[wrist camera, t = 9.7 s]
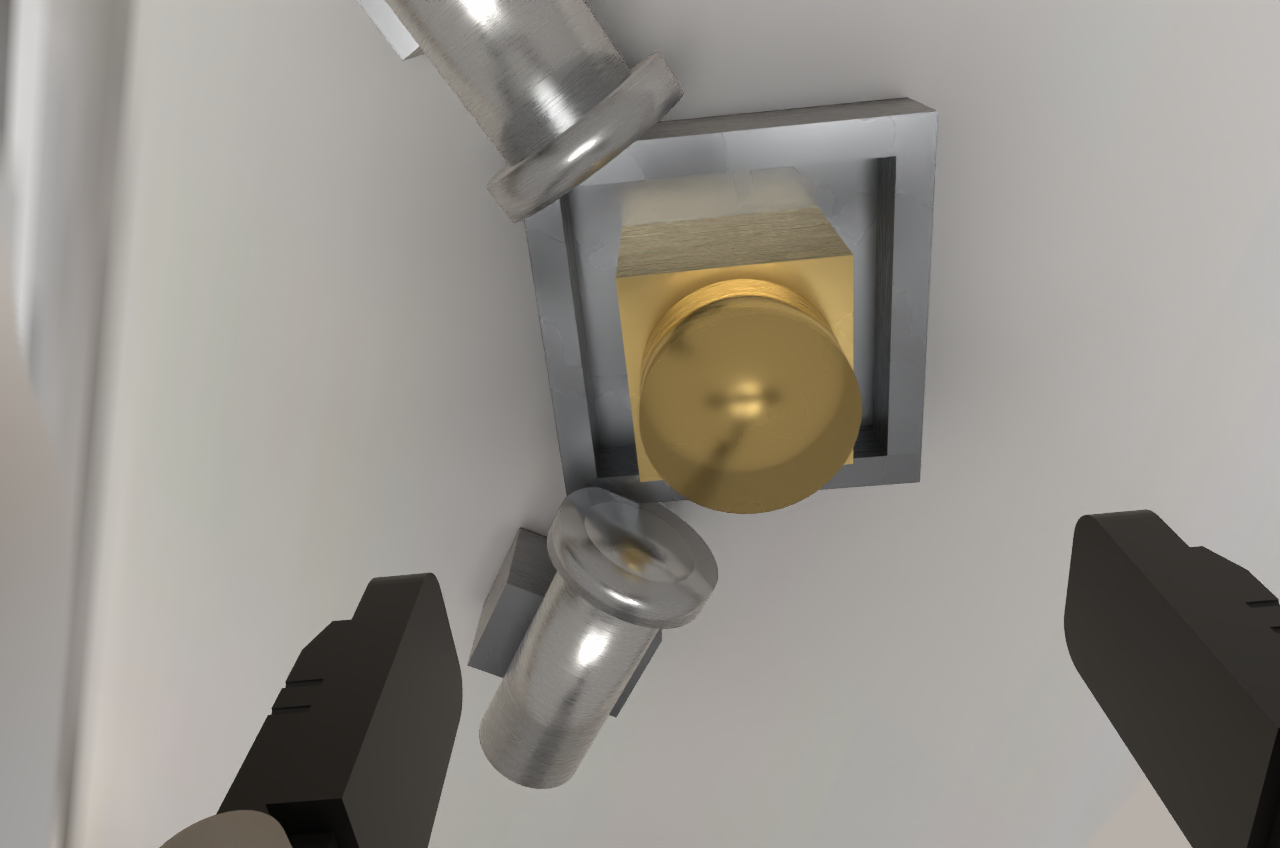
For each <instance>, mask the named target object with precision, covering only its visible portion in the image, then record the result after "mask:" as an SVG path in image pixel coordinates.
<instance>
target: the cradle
mask: <svg viewBox="0 0 1280 848" xmlns="http://www.w3.org/2000/svg"><path fill="white" fill-rule="evenodd" d="M937 119H938V111H936V110H934V109H932V108H930V107H927V106H925V105H923V104H921V103H918V102H916V101H914V100H912V99H909V98H897V99H887V100H877V101H867V102H856V103H846V104H836V105H826V106H816V107H806V108H796V109H786V110H776V111H766V112H756V113H745V114H735V115H725V116H715V117H705V118H695V119H685V120H675V121H665V122H657V123H656V124H655V125H654V126H652V127H651V128H650V129H649V130H648V131H647V132H646V133H644V134H643V135H642V136H641V137H640V138H639V139H637V140H636V141H635V142H634V143H633V144H631V145H630V146H629V147H628V148H626V149H625V150H624V151H623V152H621V153H620V154H619V155H618V156H616V157H615V158H614V159H613V160H611V161H610V162H609V163H607V164H606V165H605V166H604V167H602V168H601V169H600V170H598V171H597V172H596V173H594V174H593V175H592V176H590V177H589V178H588V179H586V180H585V181H583V182H582V183H581V184H579V185H578V186H577V187H575V188H574V189H572V190H571V191H569V192H568V193H567V194H565V195H564V196H562V197H561V198H559V199H558V200H556V201H555V202H553V203H552V204H550V205H549V206H547V207H545V208H544V209H542V210H540V211H539V212H537V213H535V214H534V215H532V216H530V217H528V218H526V219H524V221H525V228H526V234H527V241H528V247H529V254H530V260H531V266H532V273H533V279H534V286H535V292H536V299H537V305H538V312H539V318H540V325H541V331H542V338H543V344H544V351H545V357H546V364H547V370H548V377H549V383H550V390H551V396H552V403H553V409H554V416H555V422H556V429H557V435H558V442H559V448H560V455H561V461H562V468H563V474H564V481H565V487H566V493H567V496H568V495H569V494H571V493H573V492H574V491H577V490H579V489H582V488H587V487H599V488H601V489H604V490H606V491H609V492H611V493H614V494H616V495H619V496H622V497H624V498H627V499H629V500H632V501H634V502H637V503H651V502H664V501H677V500H689V499H687V498H685V497H684V496H682V495H680V494H679V493H678V492H676V491H675V490H674V489H673V488H671V487H670V486H669V485H668V484H667V483H666V482H665V481H664V480H658V481H646V482H640V476H639V468H638V460H637V451H636V443H635V435H634V427H633V418H632V410H631V402H630V394H629V385H628V377H627V369H626V360H625V352H624V344H623V336H622V327H621V319H620V311H619V303H618V294H617V286H616V271H617V263H618V255H619V247H620V239H621V231H622V227H626V226H636V225H645V224H655V223H665V222H675V221H685V220H695V219H704V218H714V217H724V216H734V215H744V214H754V213H764V212H773V211H783V210H793V209H803V208H813V207H818V208H819V209H820V210H821V212H822V213H823V214H824V216H825V217H826V218H827V220H828V221H829V223H830V224H831V225H832V227H833V228H834V229H835V231H836V232H837V233H838V235H839V236H840V237H841V239H842V240H843V241H844V243H845V244H846V245H847V247H848V248H849V249H850V251H851V252H852V254H853V371H854V374H855V376H856V379H857V382H858V385H859V389H860V394H861V403H862V415H861V424H860V429H859V433H858V437H857V439H856V442H855V445H854V447H853V464H846V465H843V466H842V467H841V469H840V470H839V471H838V472H837V473H836V474H835V475H834V477H833V478H832V479H831V480H830V481H829V482H827V483H826V484H825V485H824V486H823V487H822V488H820V489H819V490H822V489H835V488H848V487H861V486H874V485H887V484H901V483H914V482H920V466H921V446H922V425H923V405H924V385H925V364H926V344H927V323H928V303H929V282H930V262H931V242H932V221H933V201H934V180H935V160H936V140H937Z"/></svg>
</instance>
